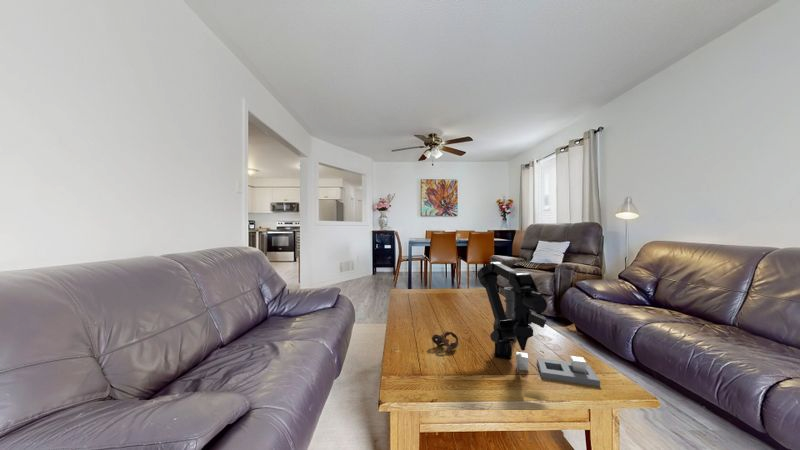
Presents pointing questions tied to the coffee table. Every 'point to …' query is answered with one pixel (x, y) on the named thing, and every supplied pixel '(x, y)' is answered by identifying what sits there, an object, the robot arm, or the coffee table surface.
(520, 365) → the billet
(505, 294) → the candle holder
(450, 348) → the brown looped piece
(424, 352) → the coffee table surface
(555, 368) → the pallet
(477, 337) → the coffee table surface
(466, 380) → the coffee table surface
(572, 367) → the block
